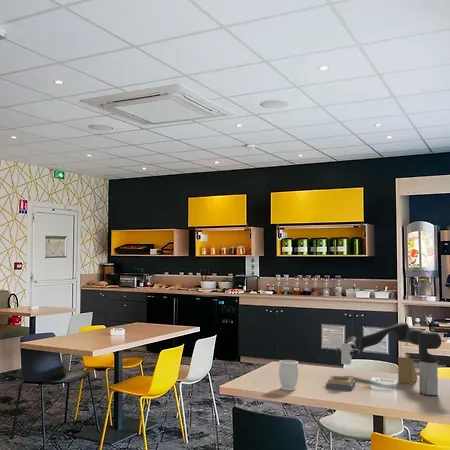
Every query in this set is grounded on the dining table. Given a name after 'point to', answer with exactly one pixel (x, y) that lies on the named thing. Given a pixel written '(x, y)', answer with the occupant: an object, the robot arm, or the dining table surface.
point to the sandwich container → (406, 370)
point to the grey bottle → (345, 353)
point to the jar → (288, 374)
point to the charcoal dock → (342, 387)
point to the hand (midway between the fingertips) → (345, 352)
